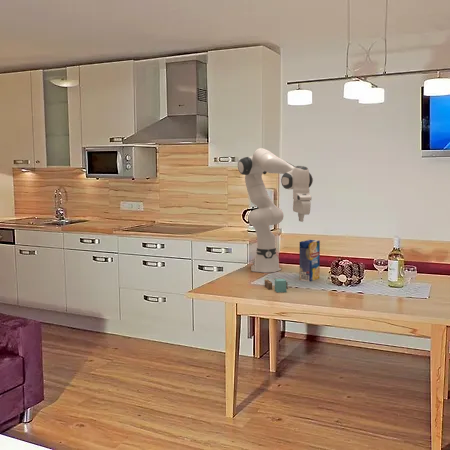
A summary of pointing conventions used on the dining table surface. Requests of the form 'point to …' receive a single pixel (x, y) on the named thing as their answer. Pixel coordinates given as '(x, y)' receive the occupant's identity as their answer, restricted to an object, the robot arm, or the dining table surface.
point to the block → (280, 285)
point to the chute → (269, 285)
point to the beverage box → (309, 260)
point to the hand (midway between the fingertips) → (301, 221)
